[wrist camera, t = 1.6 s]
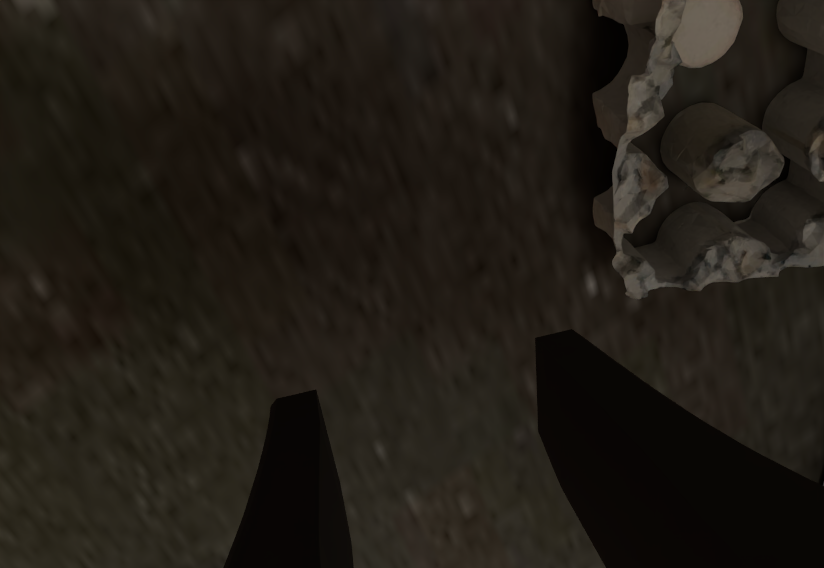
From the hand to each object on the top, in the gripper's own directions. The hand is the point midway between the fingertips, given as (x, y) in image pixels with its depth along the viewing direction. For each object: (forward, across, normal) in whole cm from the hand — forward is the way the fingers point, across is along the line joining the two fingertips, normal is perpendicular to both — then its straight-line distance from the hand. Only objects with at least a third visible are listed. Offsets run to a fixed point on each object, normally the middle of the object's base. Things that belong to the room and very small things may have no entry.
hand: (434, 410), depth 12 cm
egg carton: (+11, -11, 0) cm, 15 cm away
